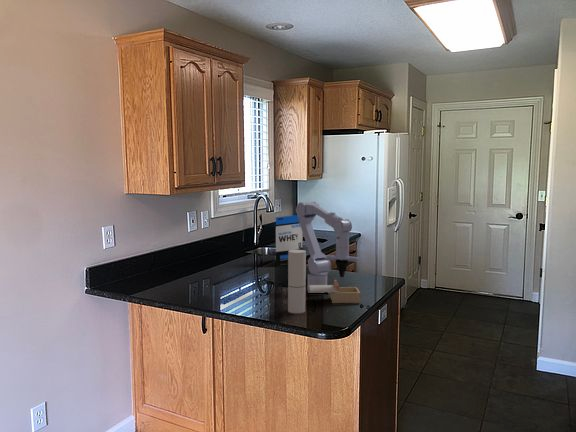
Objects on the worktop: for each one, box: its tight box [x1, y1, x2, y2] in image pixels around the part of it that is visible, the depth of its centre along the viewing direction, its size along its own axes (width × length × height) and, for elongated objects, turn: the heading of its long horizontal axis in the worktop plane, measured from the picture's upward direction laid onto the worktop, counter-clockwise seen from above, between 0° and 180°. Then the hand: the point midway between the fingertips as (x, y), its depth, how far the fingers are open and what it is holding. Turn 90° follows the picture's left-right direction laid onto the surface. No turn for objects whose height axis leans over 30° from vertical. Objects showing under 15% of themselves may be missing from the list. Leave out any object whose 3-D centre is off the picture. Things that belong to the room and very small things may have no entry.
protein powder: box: [275, 214, 304, 268], centre depth 294 cm, size 10×24×30 cm, turn 137°
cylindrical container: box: [287, 249, 307, 314], centre depth 197 cm, size 7×7×25 cm
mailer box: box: [329, 286, 361, 304], centre depth 213 cm, size 12×10×5 cm
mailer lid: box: [309, 279, 340, 293], centre depth 213 cm, size 12×10×3 cm
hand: (342, 276), depth 215 cm, fingers closed
